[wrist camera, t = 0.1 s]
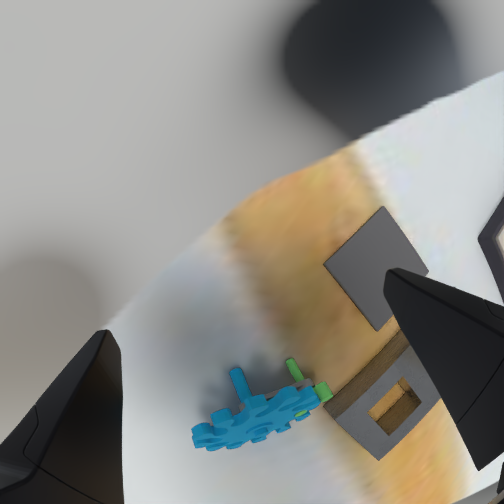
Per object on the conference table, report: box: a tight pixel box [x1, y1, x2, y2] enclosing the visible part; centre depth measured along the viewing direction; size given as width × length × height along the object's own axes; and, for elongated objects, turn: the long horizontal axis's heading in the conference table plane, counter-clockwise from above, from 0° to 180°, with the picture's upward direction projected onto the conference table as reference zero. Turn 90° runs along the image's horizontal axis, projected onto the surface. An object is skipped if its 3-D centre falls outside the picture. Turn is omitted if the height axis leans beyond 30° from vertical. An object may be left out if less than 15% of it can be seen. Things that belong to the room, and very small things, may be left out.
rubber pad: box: [323, 206, 429, 332], centre depth 25 cm, size 8×8×1 cm
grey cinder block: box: [324, 287, 455, 461], centre depth 23 cm, size 8×16×3 cm, turn 131°
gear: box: [191, 358, 333, 451], centre depth 21 cm, size 11×6×10 cm
